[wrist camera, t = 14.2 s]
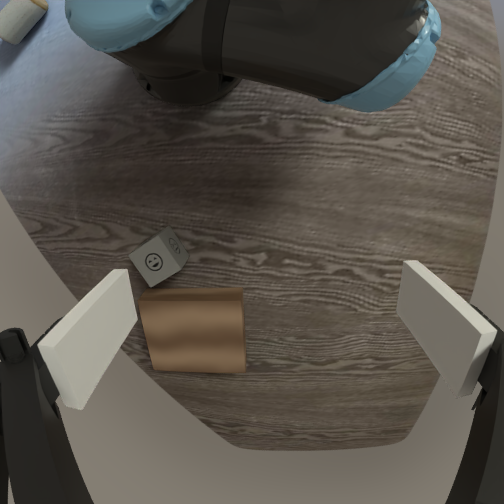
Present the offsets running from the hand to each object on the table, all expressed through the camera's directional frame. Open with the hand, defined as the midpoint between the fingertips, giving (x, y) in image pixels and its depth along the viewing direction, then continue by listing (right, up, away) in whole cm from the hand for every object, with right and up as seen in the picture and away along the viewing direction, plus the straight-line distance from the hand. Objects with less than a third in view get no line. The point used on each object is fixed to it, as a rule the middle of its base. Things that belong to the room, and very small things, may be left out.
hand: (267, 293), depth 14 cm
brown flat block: (-9, -9, +31) cm, 34 cm away
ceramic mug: (-38, +41, +16) cm, 58 cm away
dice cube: (-11, -1, +26) cm, 28 cm away
